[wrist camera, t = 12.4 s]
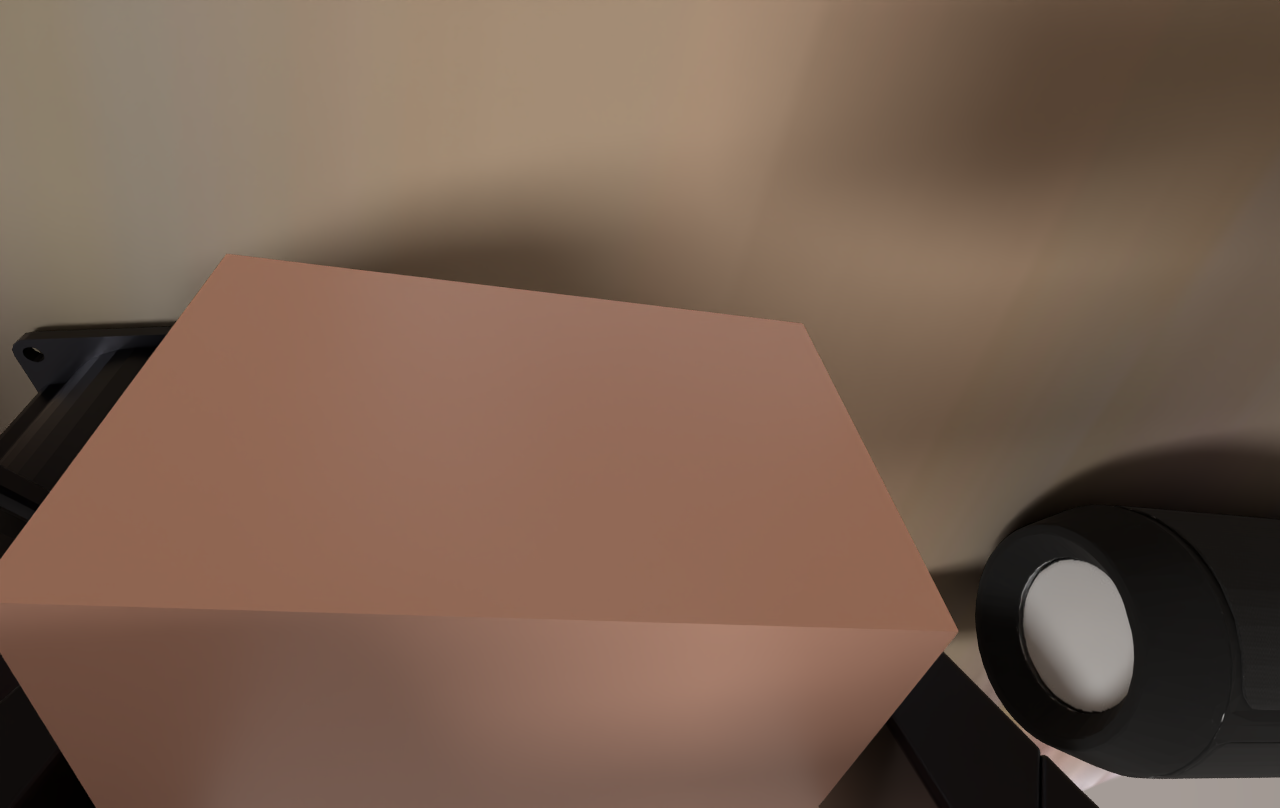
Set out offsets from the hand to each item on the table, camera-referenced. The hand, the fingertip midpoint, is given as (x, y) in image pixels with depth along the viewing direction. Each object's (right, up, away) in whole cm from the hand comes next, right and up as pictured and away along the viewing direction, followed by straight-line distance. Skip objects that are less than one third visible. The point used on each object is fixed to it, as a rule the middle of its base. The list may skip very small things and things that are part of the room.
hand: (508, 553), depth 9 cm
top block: (0, +1, +1) cm, 1 cm away
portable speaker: (+29, -5, +25) cm, 39 cm away
